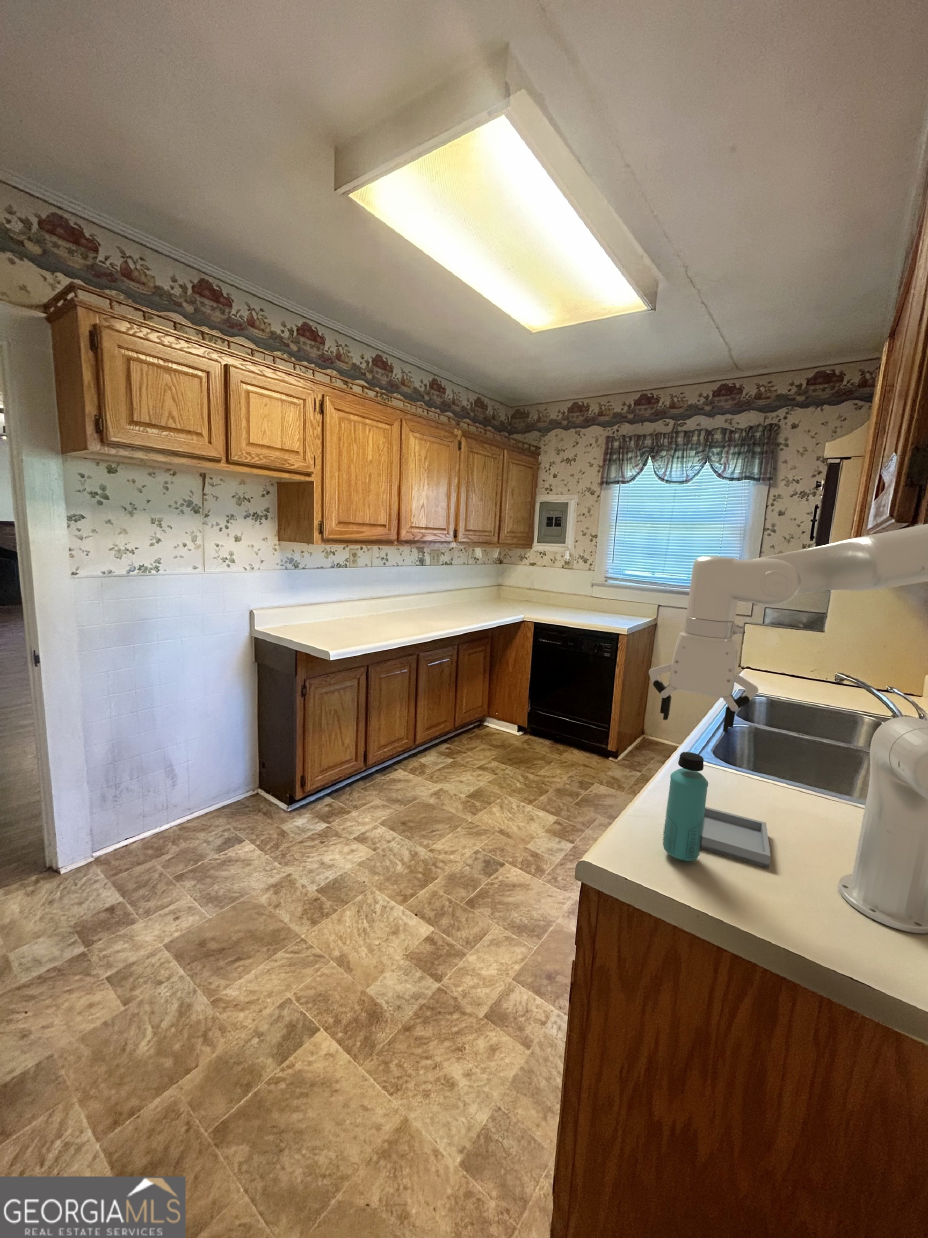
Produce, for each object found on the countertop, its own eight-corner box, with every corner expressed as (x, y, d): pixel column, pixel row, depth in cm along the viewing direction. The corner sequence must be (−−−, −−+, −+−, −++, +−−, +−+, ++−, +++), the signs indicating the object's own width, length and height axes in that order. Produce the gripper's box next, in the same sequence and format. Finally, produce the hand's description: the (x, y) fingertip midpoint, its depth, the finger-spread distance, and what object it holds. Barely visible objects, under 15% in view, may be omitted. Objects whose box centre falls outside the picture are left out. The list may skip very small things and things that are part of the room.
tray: (764, 834, 101) (766, 822, 101) (768, 869, 90) (770, 856, 90) (694, 815, 107) (695, 804, 107) (690, 845, 96) (691, 833, 96)
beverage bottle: (703, 872, 88) (718, 765, 85) (663, 865, 89) (676, 760, 86) (694, 850, 94) (707, 750, 91) (657, 844, 96) (669, 745, 93)
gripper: (765, 633, 85) (749, 729, 87) (657, 620, 93) (646, 708, 95) (768, 639, 78) (751, 742, 81) (652, 624, 86) (640, 719, 89)
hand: (694, 724), depth 88 cm, fingers open, 9 cm apart
